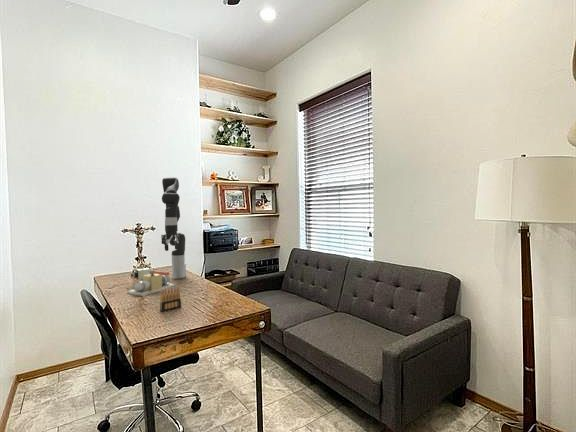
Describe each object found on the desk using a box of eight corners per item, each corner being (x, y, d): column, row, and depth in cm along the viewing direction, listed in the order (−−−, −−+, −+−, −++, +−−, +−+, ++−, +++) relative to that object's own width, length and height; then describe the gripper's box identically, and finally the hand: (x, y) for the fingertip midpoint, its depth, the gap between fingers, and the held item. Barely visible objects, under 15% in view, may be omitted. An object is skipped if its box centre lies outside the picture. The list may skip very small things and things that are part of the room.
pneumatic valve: (153, 284, 222) (152, 266, 221) (135, 286, 214) (134, 269, 214) (150, 282, 226) (150, 265, 226) (132, 285, 218) (132, 267, 218)
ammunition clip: (161, 312, 162) (161, 289, 162) (159, 311, 164) (159, 288, 163) (181, 307, 170) (180, 285, 170) (179, 307, 171) (179, 284, 171)
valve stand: (161, 284, 222) (161, 268, 221) (176, 286, 215) (175, 270, 215) (127, 293, 199) (126, 276, 198) (142, 296, 192) (142, 278, 192)
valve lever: (148, 273, 206) (148, 270, 206) (152, 272, 209) (152, 269, 209) (165, 275, 199) (165, 272, 198) (169, 274, 201) (169, 271, 201)
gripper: (175, 223, 213) (176, 248, 213) (157, 224, 200) (158, 251, 201) (184, 223, 209) (184, 248, 210) (166, 225, 197) (166, 251, 197)
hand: (171, 249), depth 205 cm, fingers open, 7 cm apart
